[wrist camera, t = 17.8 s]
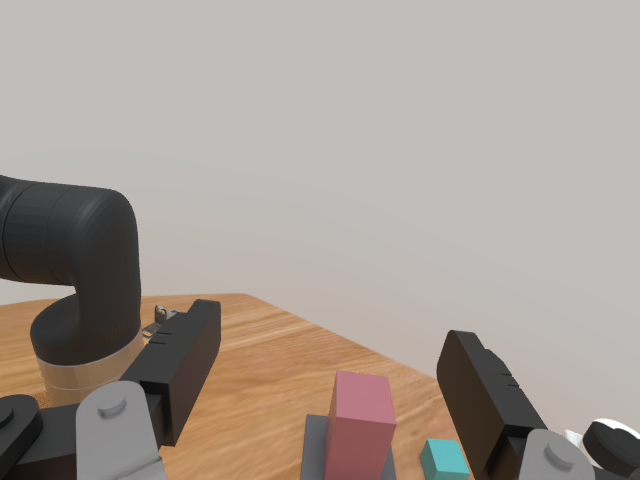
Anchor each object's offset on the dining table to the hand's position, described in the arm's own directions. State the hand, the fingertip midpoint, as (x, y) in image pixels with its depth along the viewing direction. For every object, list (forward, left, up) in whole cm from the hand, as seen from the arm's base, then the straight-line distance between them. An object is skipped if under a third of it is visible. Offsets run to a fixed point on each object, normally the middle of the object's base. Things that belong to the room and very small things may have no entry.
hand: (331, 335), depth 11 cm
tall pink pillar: (-3, +19, -35) cm, 40 cm away
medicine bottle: (+23, +33, -35) cm, 53 cm away
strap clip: (-45, +20, -36) cm, 61 cm away
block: (+7, +25, -35) cm, 44 cm away
